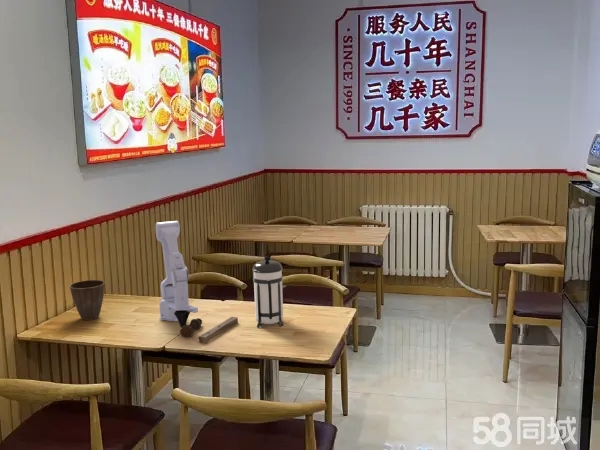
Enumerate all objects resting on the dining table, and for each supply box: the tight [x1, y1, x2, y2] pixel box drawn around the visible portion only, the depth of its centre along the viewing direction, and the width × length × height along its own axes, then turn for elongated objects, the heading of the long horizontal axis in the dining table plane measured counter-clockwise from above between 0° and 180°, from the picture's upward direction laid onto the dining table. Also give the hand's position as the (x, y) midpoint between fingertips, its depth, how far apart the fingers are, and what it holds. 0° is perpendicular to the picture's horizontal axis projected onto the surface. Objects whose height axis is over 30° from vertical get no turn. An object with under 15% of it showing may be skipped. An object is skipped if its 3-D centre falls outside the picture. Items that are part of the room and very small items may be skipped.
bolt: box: [179, 317, 203, 339], centre depth 246 cm, size 6×5×15 cm
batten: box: [198, 316, 239, 344], centre depth 244 cm, size 3×26×3 cm, turn 157°
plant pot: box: [69, 279, 105, 321], centre depth 267 cm, size 15×15×16 cm
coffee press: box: [252, 255, 285, 329], centre depth 250 cm, size 17×16×30 cm
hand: (183, 327), depth 249 cm, fingers closed
